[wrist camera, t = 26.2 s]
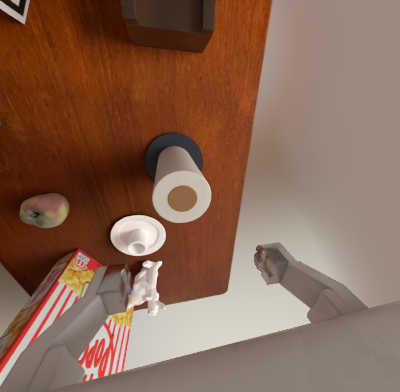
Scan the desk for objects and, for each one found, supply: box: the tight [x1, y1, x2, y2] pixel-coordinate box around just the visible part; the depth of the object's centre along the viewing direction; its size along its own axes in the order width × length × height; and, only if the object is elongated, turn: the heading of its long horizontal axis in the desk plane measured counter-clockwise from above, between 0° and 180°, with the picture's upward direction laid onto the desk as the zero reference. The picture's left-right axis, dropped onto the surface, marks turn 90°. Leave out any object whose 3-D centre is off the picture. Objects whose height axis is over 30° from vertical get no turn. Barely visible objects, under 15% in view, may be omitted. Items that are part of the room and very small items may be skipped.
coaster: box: [145, 133, 203, 181], centre depth 30 cm, size 11×11×1 cm
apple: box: [20, 193, 69, 228], centre depth 27 cm, size 6×8×6 cm
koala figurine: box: [127, 260, 166, 317], centre depth 36 cm, size 8×7×12 cm
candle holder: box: [111, 215, 166, 256], centre depth 35 cm, size 12×12×4 cm
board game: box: [0, 249, 134, 386], centre depth 28 cm, size 20×6×27 cm, turn 28°
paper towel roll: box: [152, 146, 211, 223], centre depth 23 cm, size 6×15×6 cm
